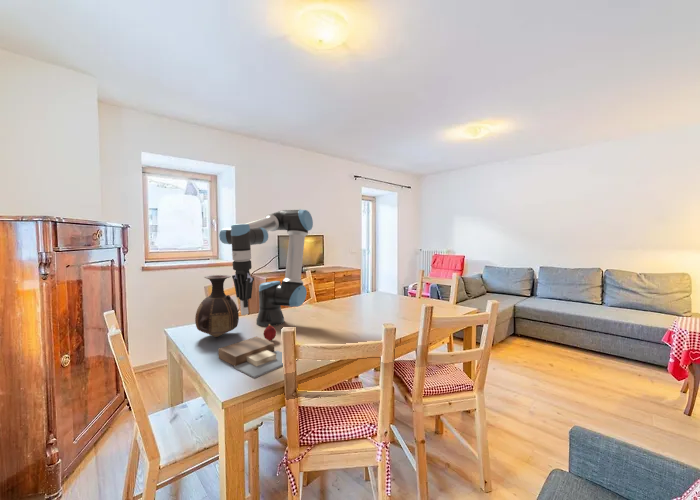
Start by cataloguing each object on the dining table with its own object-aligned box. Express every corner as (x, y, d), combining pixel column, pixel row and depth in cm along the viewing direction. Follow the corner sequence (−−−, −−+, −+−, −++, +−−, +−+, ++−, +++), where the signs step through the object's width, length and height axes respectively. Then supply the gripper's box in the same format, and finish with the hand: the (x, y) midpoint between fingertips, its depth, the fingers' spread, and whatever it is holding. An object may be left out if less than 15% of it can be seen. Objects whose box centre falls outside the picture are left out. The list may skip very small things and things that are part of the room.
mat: (277, 351, 132) (277, 350, 132) (297, 359, 124) (297, 358, 124) (234, 368, 116) (234, 366, 116) (254, 378, 108) (254, 376, 108)
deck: (256, 345, 140) (256, 336, 139) (274, 352, 131) (274, 343, 131) (218, 358, 126) (218, 348, 125) (235, 366, 117) (235, 356, 117)
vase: (206, 348, 136) (203, 281, 134) (185, 339, 148) (182, 277, 146) (250, 334, 154) (249, 275, 152) (229, 326, 166) (227, 271, 164)
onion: (278, 340, 145) (278, 324, 144) (268, 344, 141) (268, 327, 140) (271, 338, 149) (271, 321, 148) (261, 341, 144) (260, 324, 144)
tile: (266, 354, 128) (266, 349, 128) (276, 359, 123) (276, 354, 123) (246, 361, 121) (246, 356, 121) (256, 366, 116) (256, 361, 116)
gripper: (225, 260, 132) (228, 313, 134) (242, 262, 124) (245, 319, 126) (241, 258, 137) (243, 309, 140) (258, 260, 129) (261, 314, 132)
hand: (244, 314), depth 133 cm, fingers closed
